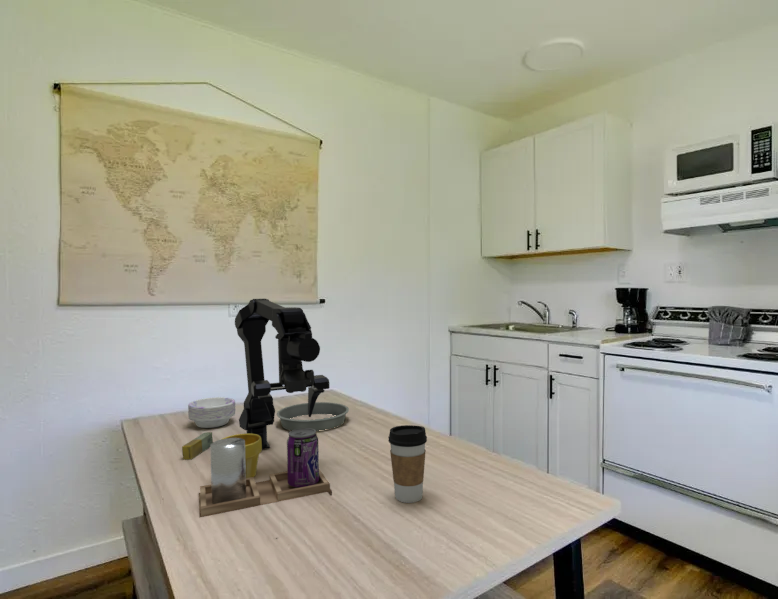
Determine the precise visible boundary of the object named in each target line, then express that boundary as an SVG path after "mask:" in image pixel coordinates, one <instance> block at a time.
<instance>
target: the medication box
mask: <svg viewBox="0 0 778 599" xmlns="http://www.w3.org/2000/svg"><path fill="white" fill-rule="evenodd" d="M213 442H214V440H213V432H211V431H210V432H203V433H202V434H200V435H198V436H197V437H195V438H194V439H192V440H190V441H189V442H187V443H186V444H183V446H182V447H181V452H182V453H181V454H182V460H185V461H186V460H187V461H189V460H190V461H192V460H194V459H195V458H196V457H198V456H199V455H201V454H202V453H204V452H205V451H206V450H208V449H210V445H211V444H212V443H213Z"/></svg>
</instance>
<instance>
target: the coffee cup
mask: <svg viewBox="0 0 778 599" xmlns="http://www.w3.org/2000/svg"><path fill="white" fill-rule="evenodd" d="M427 438H428V437H427V432H426V428H425V427H424V426H422V425H397V426H393V427H392V428H390V429H389V434H388V443H389V444H390V451H389V453H390V461H391V462H390V463H391V471H392V479H393V485H394V488H393V489H394V496H395V499H396V500H397V501H399V502H400V503H401V502H402V503H405V504H406V503H407V504H408V503H409V504H410V503H411V504H413V503H417V502H419V501H421V499H422V498H423V492H424V491H423V490H424V476H425V463H426V453H427V452H426V449H425V448H426V443H427V441H428V439H427Z"/></svg>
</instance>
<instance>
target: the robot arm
mask: <svg viewBox="0 0 778 599" xmlns="http://www.w3.org/2000/svg"><path fill="white" fill-rule="evenodd" d="M270 321H271V326H272V328H274V329H275V330H276V332H277V333H276V335H275V337H274V338H275V339H277V350H278V351H277V353H278V355H277V357H278V382H270V381H269V380H268V379H265V371H264V359H263V348H262V340H263V338H264V336H265V334H266V331H267V330H266V329H267V328H266V327H267V325H268V323H269V322H270ZM234 325H235V326H234V327H235V329H236V331H237V336H238V337H239V338H240V340H241V341H242V342H243V345H244V346H243V347H244V356H245V358H244V359H245V366H246V367H245V368H246V380H247V389H248V390H247V391H248V393H247V394H246V397H245V399H244V401H243V410H242V411H241V414H240V416H239V418H238V424H239V428H241V429H242V430H244V431H246V434H257V435H259V436H260V437H261V440H262V450H265V449H270V447H271V445H270V443H269V442H268V433H267V432H268V431H267V430H268V426H273V425H274V422H275V416H276V415H275V414H276V408H275V405H274V397H273V396H272V394H271V392H272V391H274V392H275V391H281V390H282V391H283V390H285V392H287V393H289V394H293V393H295V392H301V393H302V392H306V391H307V390H308V393H307V403H308V415H307V416H308V418H312V412H313V408H314V405H315V402H317V399H318V398H319V396H320V395H321V393H325V390H329V389H330V379H329V378H328V377H327V376H326V375H323V374H317V375H315V371H314V369H305V370H304V369H303V362H304V363H305V362H306V363H309V362H310V363H311V362H314V361H315V360H316V359H317V358H318V357H319V355H320V352H321V346H320V344H319V342H318V340H317V339H315V338H313V332H312V327H311V324H310V323H309V321H308V319H307V316H306V314H305V312H304V310H303V308H301V307H293V306H292V307H289V306H288V307H285V306H283V305H281V304H278V303H276V302H273V301H271V300H269V298H268V299H267V298H252V299H250V300H249V302H248V303H247V304H246V305H245V306H244V307H242V308H240V309H239V310H238V311H237V314H236V316H235V318H234ZM307 388H308V389H307Z"/></svg>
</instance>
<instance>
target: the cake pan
mask: <svg viewBox="0 0 778 599" xmlns="http://www.w3.org/2000/svg"><path fill="white" fill-rule="evenodd" d="M349 410H350V409H349V407H348V406H346V405H345V404H342V403H338V402H330V401H329V402H325V401H316V402H315V405H314V408H313V412H312V414H313V415H327V414H332V415H331V416H329V417H330V418H328V417H323V418H324V419H321V418H315V420H313V419H295V418H297V416H298V417H302V415H304V416H308V402H303V403H298V404H292V405H291V404H290V405H289V406H285V407H282V408H281V409H279V410H278V411H277V412H276V416H277V417H278V418H279V421H280V423H281V427H282V428H284V430H287V429H288V431H290V430H295V429H299V428H311V429H314V430H316V431H317V432H320V431H319V430H324V431H326V430H325V429H329V430H331V429H330V428H333V429H335V428H334V427H336V428H338V427H340V426H342V425H343V424H344V423H345V420H346V415H347V414H348V413H349ZM334 415H336V416H334ZM332 416H334V417H332ZM293 417H294V418H293ZM290 418H291V419H290ZM341 424H342V425H341ZM339 425H340V426H339ZM337 426H338V427H337Z"/></svg>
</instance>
